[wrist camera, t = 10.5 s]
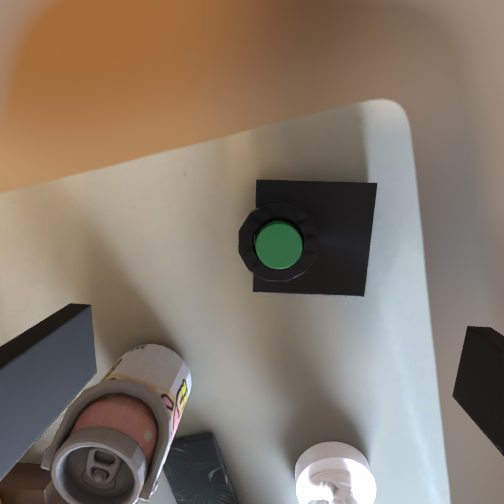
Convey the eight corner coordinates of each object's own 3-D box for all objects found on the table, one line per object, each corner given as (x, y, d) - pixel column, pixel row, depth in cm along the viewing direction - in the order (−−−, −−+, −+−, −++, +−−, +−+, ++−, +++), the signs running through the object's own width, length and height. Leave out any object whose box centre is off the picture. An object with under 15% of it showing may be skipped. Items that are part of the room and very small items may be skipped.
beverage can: (130, 319, 32) (50, 399, 20) (207, 345, 32) (173, 439, 20) (109, 392, 34) (27, 504, 22) (182, 416, 34) (139, 539, 23)
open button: (257, 219, 25) (256, 222, 24) (301, 221, 25) (303, 224, 23) (255, 262, 26) (254, 268, 24) (298, 264, 26) (300, 270, 24)
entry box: (243, 179, 28) (239, 179, 24) (369, 182, 28) (385, 183, 24) (241, 283, 30) (237, 299, 26) (357, 288, 30) (370, 305, 26)
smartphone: (194, 547, 37) (152, 447, 34) (196, 537, 38) (156, 440, 35) (249, 538, 37) (212, 436, 33) (250, 529, 37) (214, 428, 34)
